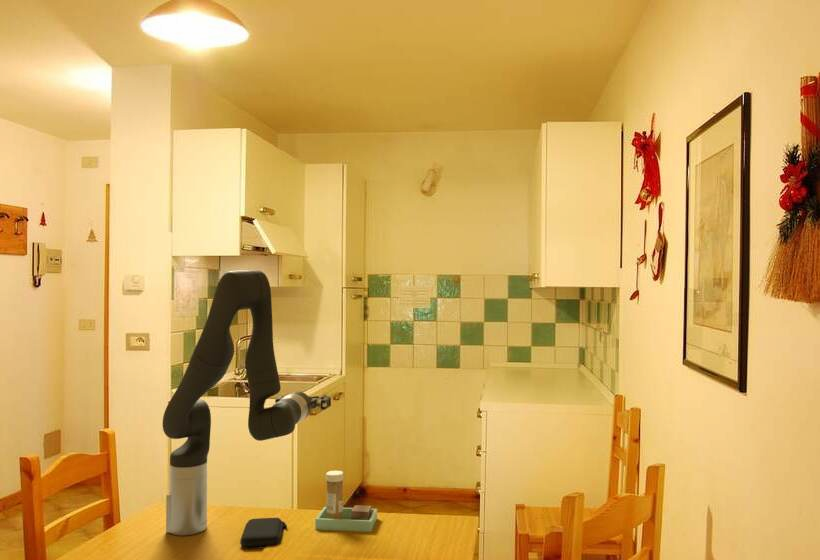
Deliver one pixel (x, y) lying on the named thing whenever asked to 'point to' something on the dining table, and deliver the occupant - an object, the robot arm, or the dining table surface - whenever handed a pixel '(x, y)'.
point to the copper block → (361, 512)
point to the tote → (345, 522)
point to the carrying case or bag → (262, 532)
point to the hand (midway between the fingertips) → (310, 397)
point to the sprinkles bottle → (334, 494)
